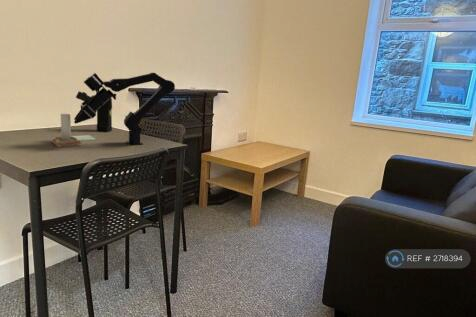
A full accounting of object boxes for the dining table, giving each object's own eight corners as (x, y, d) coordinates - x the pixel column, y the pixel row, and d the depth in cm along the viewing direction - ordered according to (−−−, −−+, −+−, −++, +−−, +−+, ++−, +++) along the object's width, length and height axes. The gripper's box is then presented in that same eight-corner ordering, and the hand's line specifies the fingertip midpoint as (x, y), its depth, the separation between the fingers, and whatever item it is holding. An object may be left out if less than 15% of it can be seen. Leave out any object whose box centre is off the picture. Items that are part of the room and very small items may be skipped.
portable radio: (114, 130, 203) (114, 87, 197) (109, 132, 197) (109, 88, 191) (101, 129, 204) (100, 86, 198) (96, 131, 198) (95, 86, 192)
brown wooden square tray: (80, 145, 162) (80, 140, 161) (57, 147, 155) (57, 141, 155) (74, 141, 169) (74, 136, 169) (52, 142, 163) (51, 137, 162)
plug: (75, 145, 162) (74, 115, 159) (61, 145, 158) (60, 115, 155) (71, 142, 166) (70, 113, 163) (57, 143, 163) (56, 113, 159)
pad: (95, 140, 176) (95, 138, 175) (74, 141, 169) (74, 140, 169) (89, 136, 183) (89, 135, 183) (68, 137, 176) (68, 136, 176)
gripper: (86, 84, 168) (61, 106, 166) (87, 87, 152) (60, 111, 149) (103, 101, 173) (79, 122, 171) (106, 106, 157) (80, 129, 155)
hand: (74, 121), depth 161 cm, fingers open, 9 cm apart
